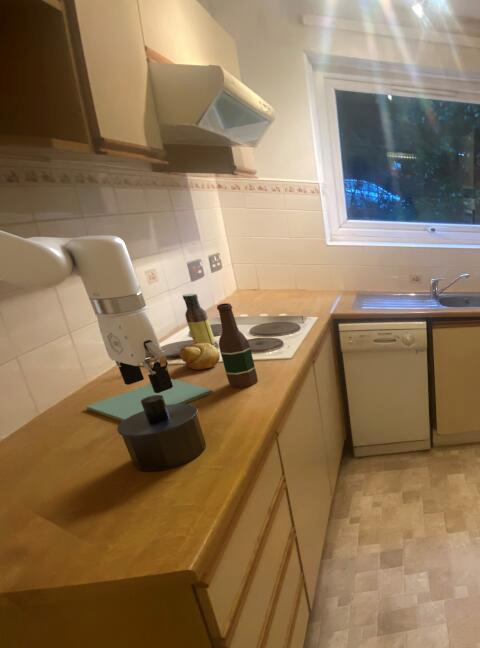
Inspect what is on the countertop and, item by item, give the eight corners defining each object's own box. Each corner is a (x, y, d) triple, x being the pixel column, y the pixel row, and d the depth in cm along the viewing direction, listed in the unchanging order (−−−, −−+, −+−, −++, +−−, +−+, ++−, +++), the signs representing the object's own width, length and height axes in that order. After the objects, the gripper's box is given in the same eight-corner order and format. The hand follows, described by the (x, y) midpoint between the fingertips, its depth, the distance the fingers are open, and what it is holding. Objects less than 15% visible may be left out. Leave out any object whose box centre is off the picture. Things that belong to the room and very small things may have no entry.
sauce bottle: (208, 344, 160) (193, 291, 152) (220, 346, 158) (206, 292, 150) (191, 350, 154) (174, 295, 147) (203, 352, 152) (187, 296, 145)
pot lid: (143, 446, 83) (134, 420, 81) (104, 431, 88) (94, 406, 86) (212, 415, 94) (205, 391, 92) (174, 403, 99) (166, 381, 97)
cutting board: (132, 425, 106) (131, 421, 105) (87, 409, 113) (85, 406, 113) (213, 392, 123) (212, 389, 122) (168, 380, 130) (167, 377, 130)
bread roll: (192, 359, 146) (186, 337, 143) (226, 356, 149) (220, 333, 146) (182, 373, 135) (175, 349, 132) (218, 369, 138) (212, 345, 135)
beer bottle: (238, 391, 124) (217, 309, 115) (223, 385, 127) (201, 305, 118) (264, 381, 130) (246, 303, 121) (248, 376, 134) (230, 299, 124)
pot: (157, 478, 87) (144, 441, 83) (120, 463, 91) (106, 428, 88) (218, 446, 97) (208, 413, 94) (183, 434, 102) (172, 402, 99)
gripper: (69, 304, 81) (103, 386, 88) (123, 314, 75) (155, 401, 82) (116, 295, 88) (144, 372, 94) (169, 304, 81) (195, 386, 88)
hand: (149, 386), depth 88 cm, fingers open, 9 cm apart
